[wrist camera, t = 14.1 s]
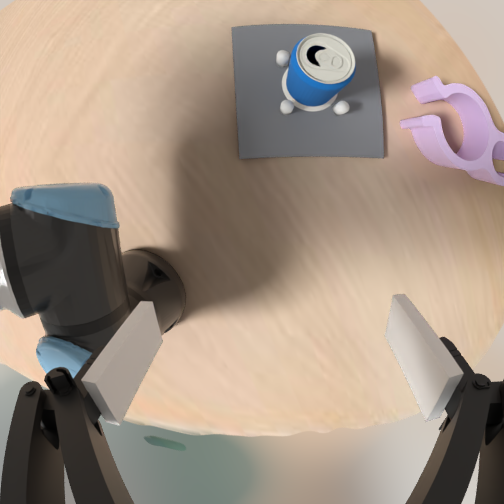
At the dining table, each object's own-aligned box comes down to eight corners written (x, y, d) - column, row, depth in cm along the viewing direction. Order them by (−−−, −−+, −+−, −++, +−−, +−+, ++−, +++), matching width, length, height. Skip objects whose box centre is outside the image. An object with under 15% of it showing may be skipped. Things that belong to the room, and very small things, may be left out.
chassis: (240, 158, 37) (236, 159, 33) (232, 30, 30) (228, 18, 27) (380, 158, 36) (392, 159, 32) (368, 33, 29) (377, 23, 25)
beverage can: (293, 57, 31) (302, 21, 19) (339, 74, 31) (365, 44, 20) (279, 98, 33) (283, 73, 22) (326, 114, 33) (349, 98, 22)
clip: (496, 136, 31) (521, 138, 25) (479, 196, 36) (503, 205, 29) (414, 72, 30) (436, 61, 24) (393, 139, 35) (415, 137, 28)
